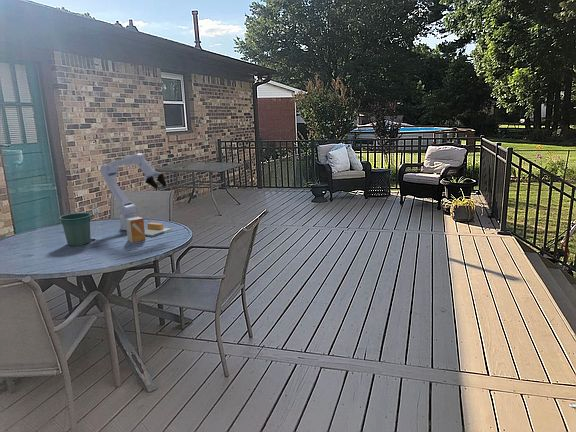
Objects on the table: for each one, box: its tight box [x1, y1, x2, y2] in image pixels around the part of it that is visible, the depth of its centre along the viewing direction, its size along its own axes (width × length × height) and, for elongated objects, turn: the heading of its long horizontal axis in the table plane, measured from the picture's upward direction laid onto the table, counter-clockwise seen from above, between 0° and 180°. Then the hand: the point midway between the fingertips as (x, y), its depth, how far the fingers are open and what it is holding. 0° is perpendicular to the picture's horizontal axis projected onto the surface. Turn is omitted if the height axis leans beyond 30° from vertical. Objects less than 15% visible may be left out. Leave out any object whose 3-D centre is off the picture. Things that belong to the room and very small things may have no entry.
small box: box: [126, 216, 146, 243], centre depth 254 cm, size 8×6×13 cm
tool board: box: [144, 228, 165, 238], centre depth 270 cm, size 20×10×1 cm, turn 65°
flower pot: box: [59, 212, 92, 247], centre depth 251 cm, size 16×16×16 cm
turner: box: [146, 222, 173, 233], centre depth 278 cm, size 15×7×4 cm, turn 65°
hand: (161, 186), depth 266 cm, fingers open, 7 cm apart
